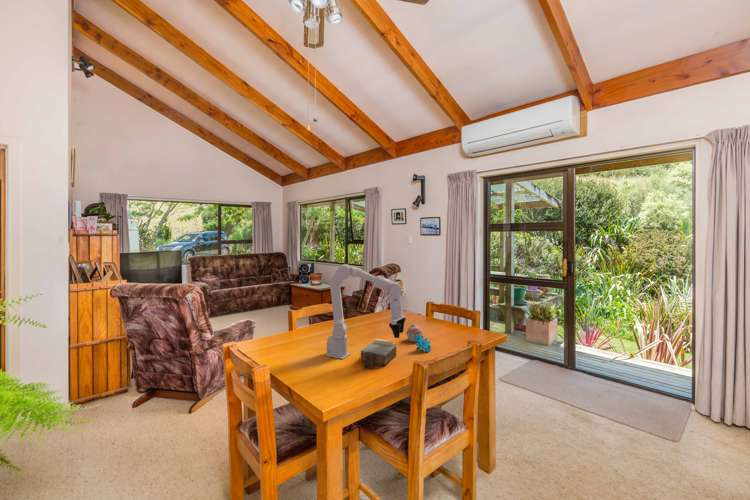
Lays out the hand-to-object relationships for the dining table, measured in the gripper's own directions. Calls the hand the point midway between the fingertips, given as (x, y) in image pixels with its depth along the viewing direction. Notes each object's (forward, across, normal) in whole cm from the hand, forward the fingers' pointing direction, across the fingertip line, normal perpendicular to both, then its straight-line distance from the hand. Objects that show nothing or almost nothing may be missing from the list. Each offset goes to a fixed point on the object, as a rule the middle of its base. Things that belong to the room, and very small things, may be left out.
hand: (398, 335), depth 170 cm
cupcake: (+12, +26, -1) cm, 29 cm away
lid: (+4, -7, +8) cm, 12 cm away
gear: (+12, +12, -8) cm, 19 cm away
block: (+9, -19, +10) cm, 23 cm away
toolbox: (+9, -7, +9) cm, 15 cm away
